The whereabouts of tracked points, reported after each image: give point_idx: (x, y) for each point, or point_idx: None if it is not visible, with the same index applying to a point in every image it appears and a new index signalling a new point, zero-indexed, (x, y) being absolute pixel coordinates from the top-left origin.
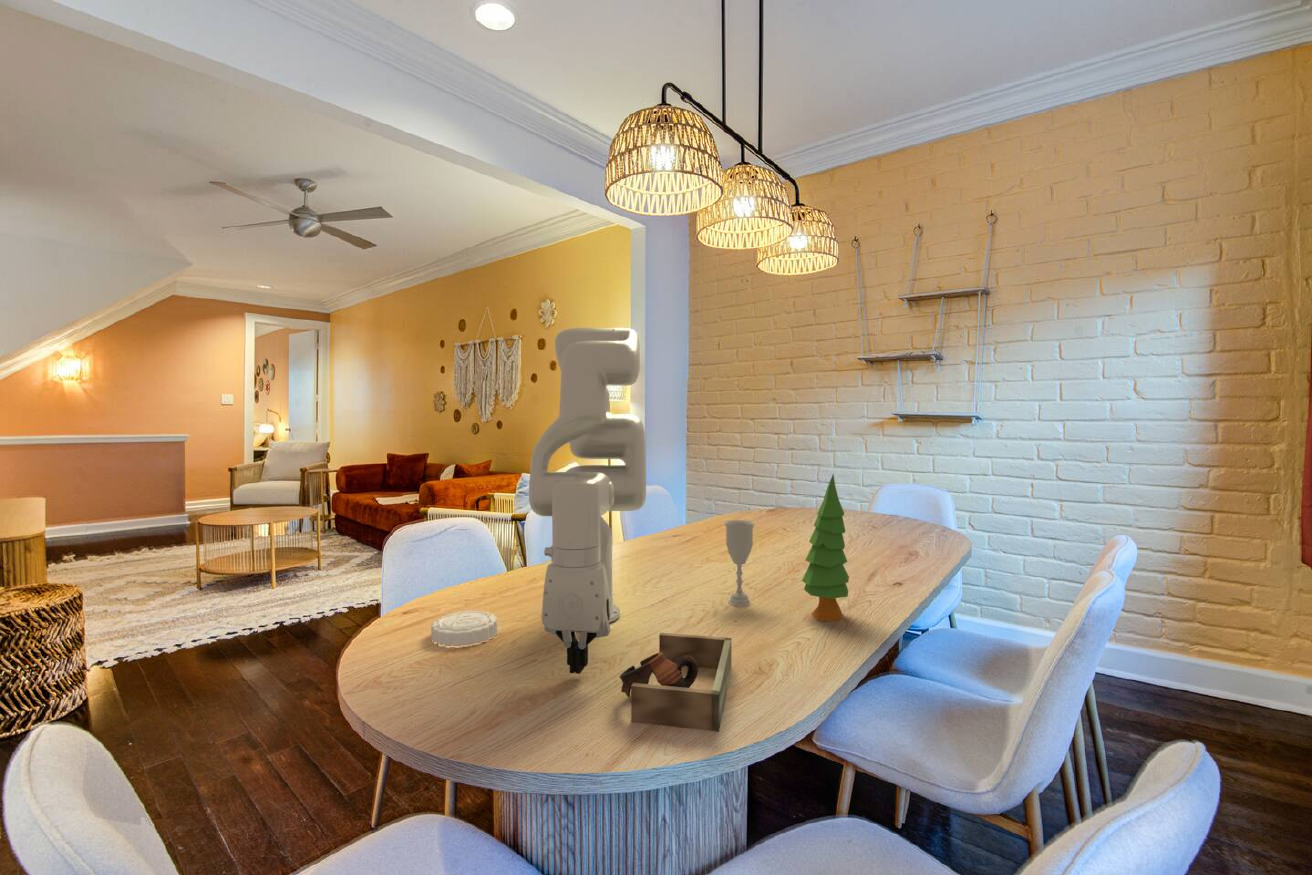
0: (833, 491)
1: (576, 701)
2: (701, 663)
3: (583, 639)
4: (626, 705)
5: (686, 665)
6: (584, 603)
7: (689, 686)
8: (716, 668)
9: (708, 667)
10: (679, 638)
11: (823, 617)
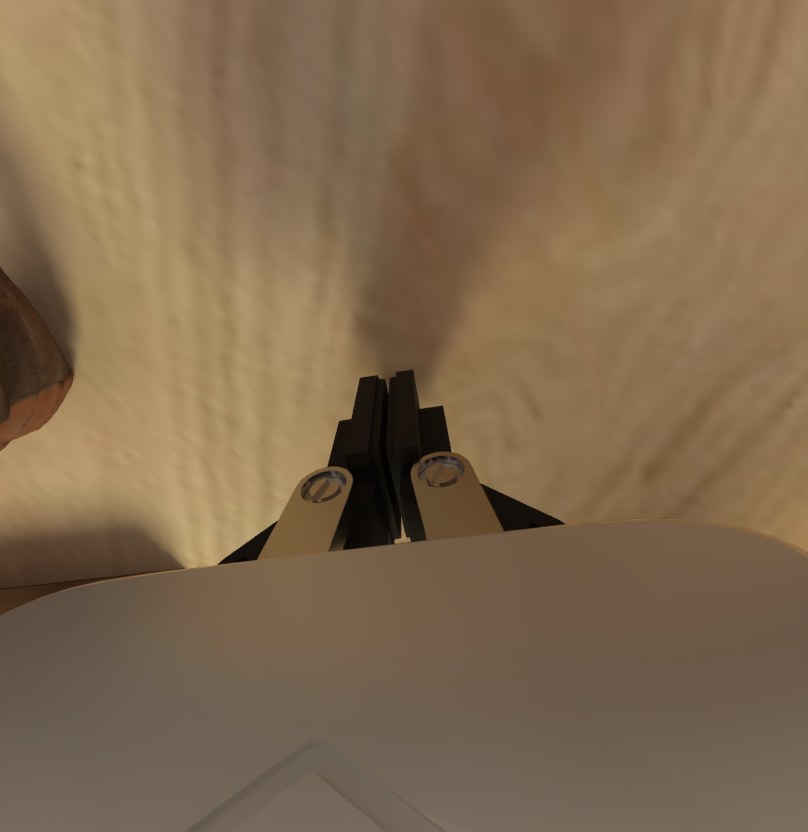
0: None
1: (262, 167)
2: (38, 597)
3: (299, 524)
4: (7, 230)
5: (93, 581)
6: None
7: None
8: (2, 590)
9: (24, 588)
10: None
11: None
